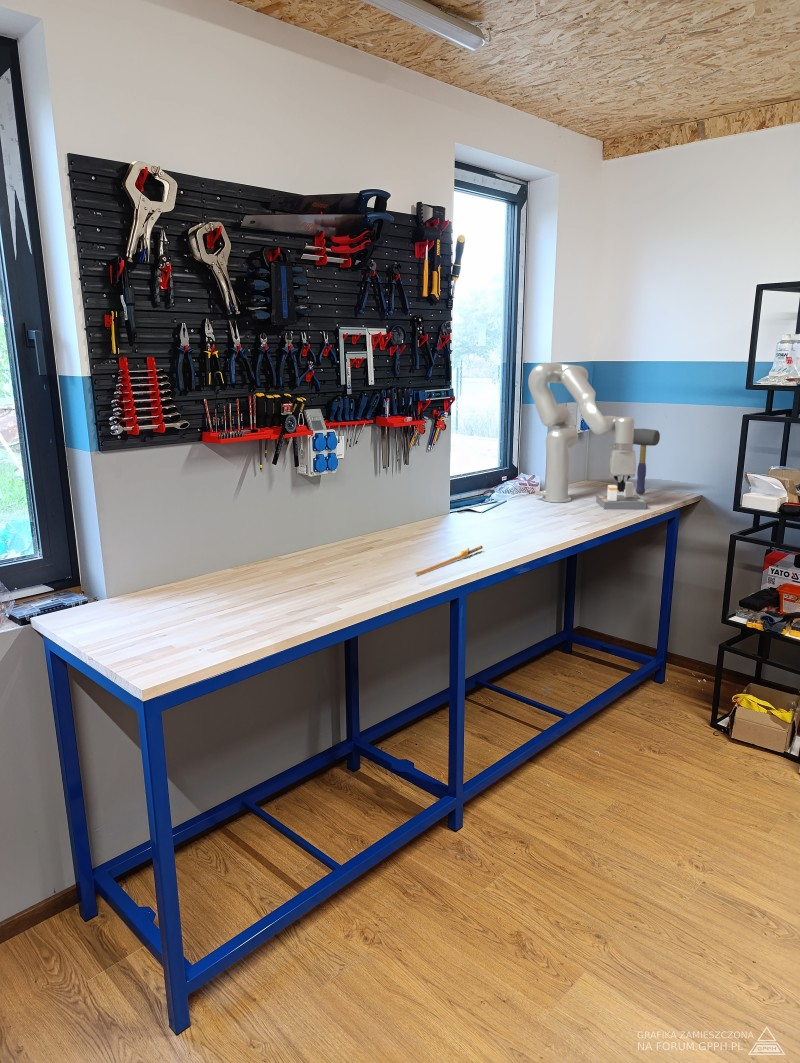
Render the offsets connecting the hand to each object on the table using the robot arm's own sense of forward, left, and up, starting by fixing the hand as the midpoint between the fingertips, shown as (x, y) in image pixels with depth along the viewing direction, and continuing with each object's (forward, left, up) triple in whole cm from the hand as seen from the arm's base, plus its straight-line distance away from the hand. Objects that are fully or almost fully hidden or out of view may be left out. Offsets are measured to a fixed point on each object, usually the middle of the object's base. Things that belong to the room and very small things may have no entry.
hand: (621, 491), depth 300 cm
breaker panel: (+1, +4, -7) cm, 8 cm away
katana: (-72, -87, -7) cm, 113 cm away
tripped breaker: (-4, 0, -4) cm, 5 cm away
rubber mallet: (+16, +30, -7) cm, 35 cm away
